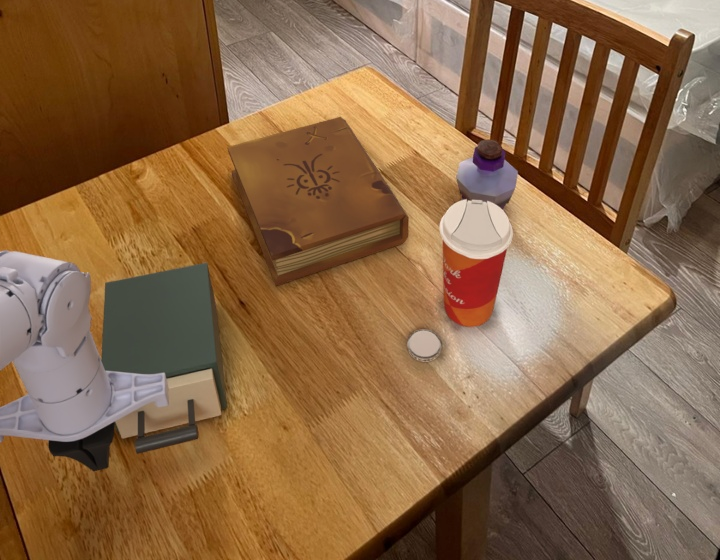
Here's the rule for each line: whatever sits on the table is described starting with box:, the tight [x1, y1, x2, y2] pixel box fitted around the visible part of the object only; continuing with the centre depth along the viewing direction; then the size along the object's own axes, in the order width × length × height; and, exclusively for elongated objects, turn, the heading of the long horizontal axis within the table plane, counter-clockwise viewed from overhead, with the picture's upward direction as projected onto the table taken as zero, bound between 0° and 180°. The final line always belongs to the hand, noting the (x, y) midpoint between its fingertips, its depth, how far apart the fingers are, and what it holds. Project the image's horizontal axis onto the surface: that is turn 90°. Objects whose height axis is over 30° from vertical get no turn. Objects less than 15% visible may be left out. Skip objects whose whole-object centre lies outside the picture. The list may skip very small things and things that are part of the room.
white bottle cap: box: [406, 328, 442, 363], centre depth 85 cm, size 4×4×1 cm
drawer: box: [115, 368, 222, 455], centre depth 79 cm, size 17×10×7 cm, turn 14°
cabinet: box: [100, 262, 228, 435], centre depth 82 cm, size 14×12×9 cm
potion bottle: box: [455, 138, 519, 211], centre depth 100 cm, size 9×9×12 cm
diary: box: [227, 116, 410, 286], centre depth 103 cm, size 23×19×6 cm
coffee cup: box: [439, 199, 514, 328], centre depth 86 cm, size 8×8×15 cm
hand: (101, 459), depth 66 cm, fingers closed
